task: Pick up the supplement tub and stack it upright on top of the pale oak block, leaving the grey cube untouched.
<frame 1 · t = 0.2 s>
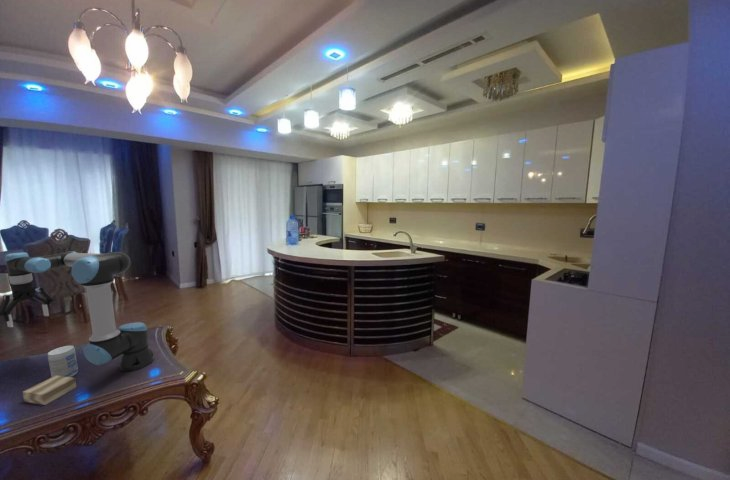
hand: (29, 321, 147), 27 cm above the table, fingers open, 13 cm apart
oak block: (51, 394, 131), on the table
supplement tub: (65, 376, 144), on the table
grey cube: (67, 362, 157), on the table
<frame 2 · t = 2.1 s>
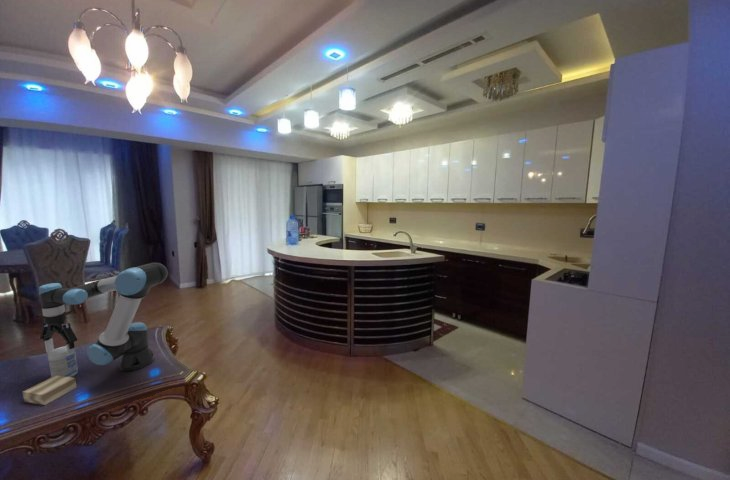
hand: (60, 353, 143), 13 cm above the table, fingers open, 13 cm apart
nothing on the table moved.
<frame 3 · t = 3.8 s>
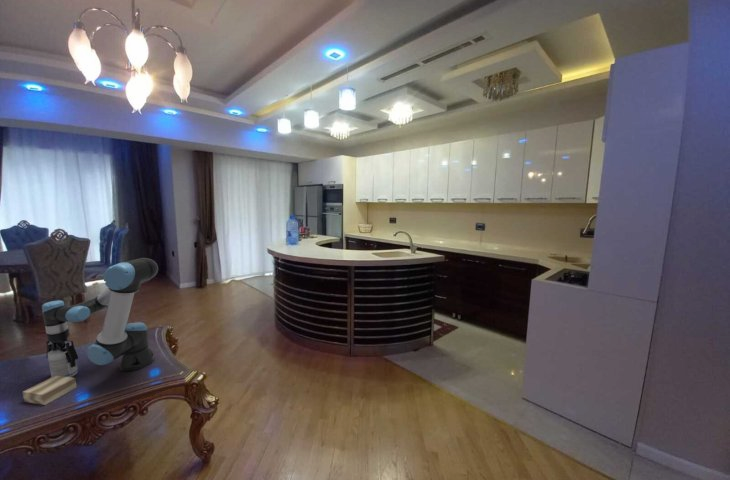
hand: (64, 371, 144), 3 cm above the table, fingers closed on supplement tub, 10 cm apart
supplement tub: (65, 376, 144), on the table, touching gripper
everything else where it was.
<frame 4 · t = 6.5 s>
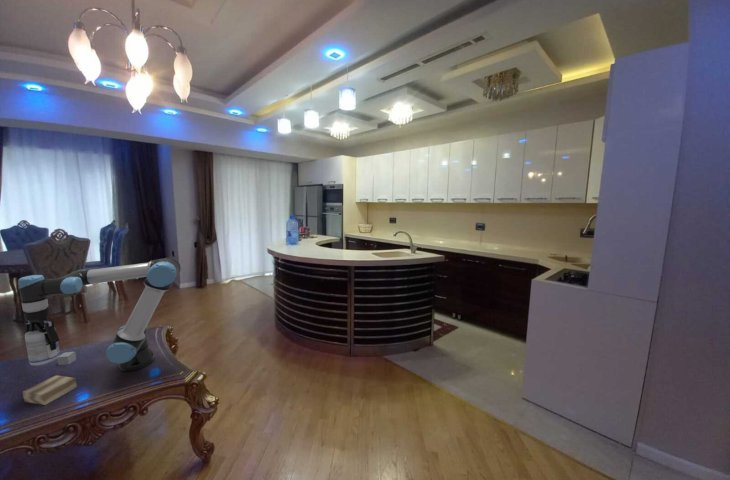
hand: (44, 355, 129), 20 cm above the table, fingers closed on supplement tub, 10 cm apart
supplement tub: (45, 360, 129), point 17 cm above the table, touching gripper
everything else where it was.
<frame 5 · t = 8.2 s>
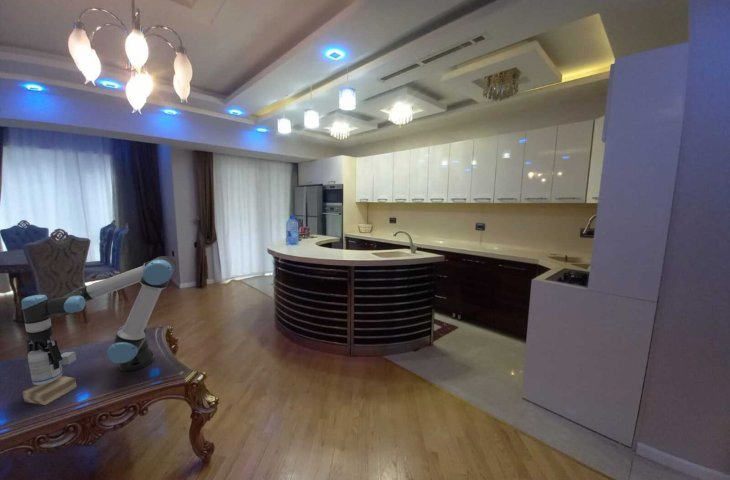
hand: (47, 374, 129), 10 cm above the table, fingers closed on supplement tub, 10 cm apart
supplement tub: (48, 379, 130), point 8 cm above the table, touching gripper
everything else where it was.
when the fingers open (9 cm above the table, at t = 9.4 s): supplement tub drops 1 cm, resting on oak block.
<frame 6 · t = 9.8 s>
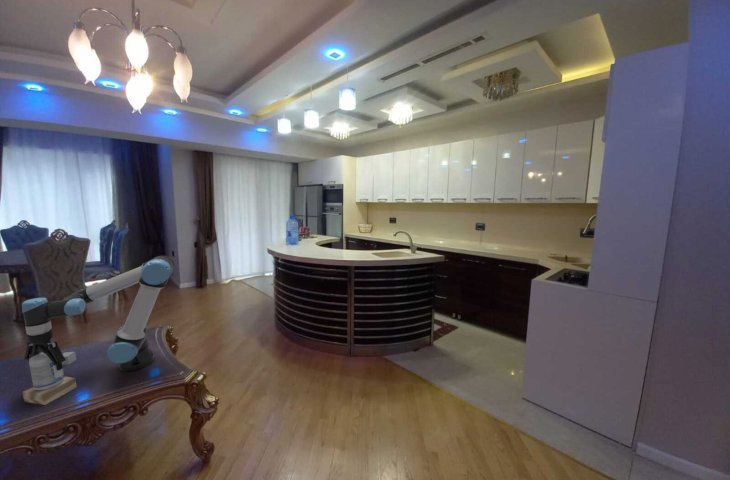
hand: (47, 374, 130), 10 cm above the table, fingers open, 13 cm apart
supplement tub: (49, 384, 130), point 5 cm above the table, touching oak block
everything else where it was.
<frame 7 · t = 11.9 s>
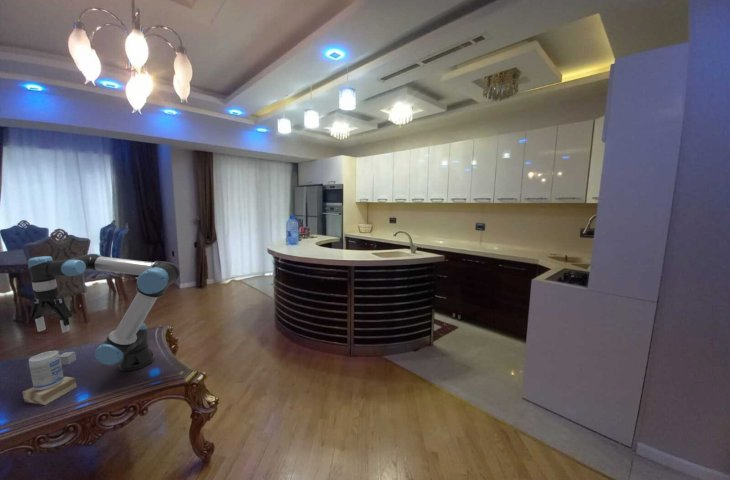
hand: (54, 331, 134), 28 cm above the table, fingers open, 13 cm apart
nothing on the table moved.
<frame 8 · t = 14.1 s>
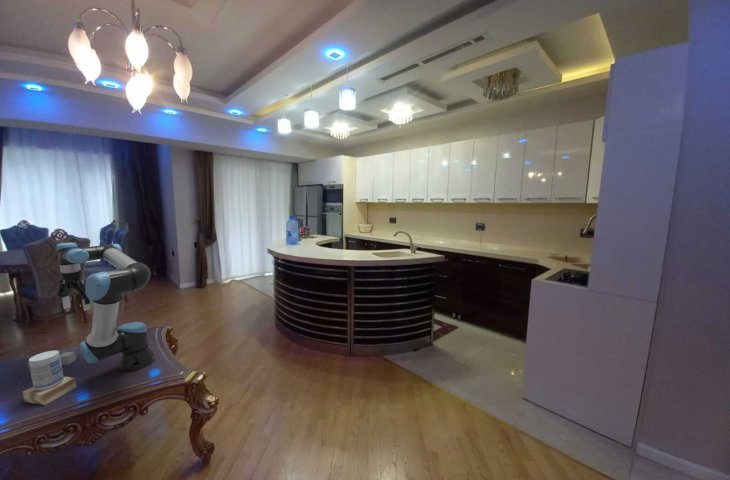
hand: (77, 308, 152), 32 cm above the table, fingers open, 13 cm apart
nothing on the table moved.
at the end: supplement tub inside the target area on the oak block (0.2 cm from its centre), point 4.8 cm above the oak block's base; supplement tub tilted 0°; the gripper is holding nothing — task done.
